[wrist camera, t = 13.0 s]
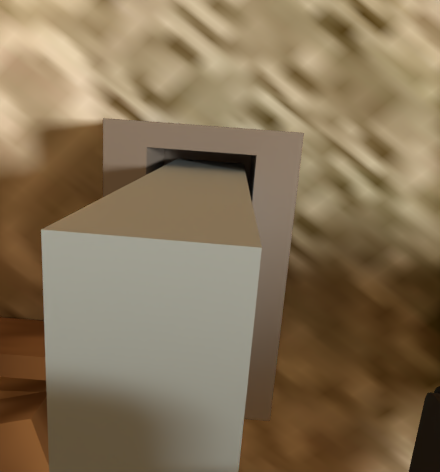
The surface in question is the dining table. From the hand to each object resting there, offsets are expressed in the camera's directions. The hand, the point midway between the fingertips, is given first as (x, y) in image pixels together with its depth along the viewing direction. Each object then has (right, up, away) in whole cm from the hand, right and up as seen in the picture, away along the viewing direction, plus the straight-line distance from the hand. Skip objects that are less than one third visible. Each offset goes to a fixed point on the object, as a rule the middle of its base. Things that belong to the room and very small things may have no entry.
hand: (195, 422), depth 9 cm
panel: (0, +3, +12) cm, 12 cm away
